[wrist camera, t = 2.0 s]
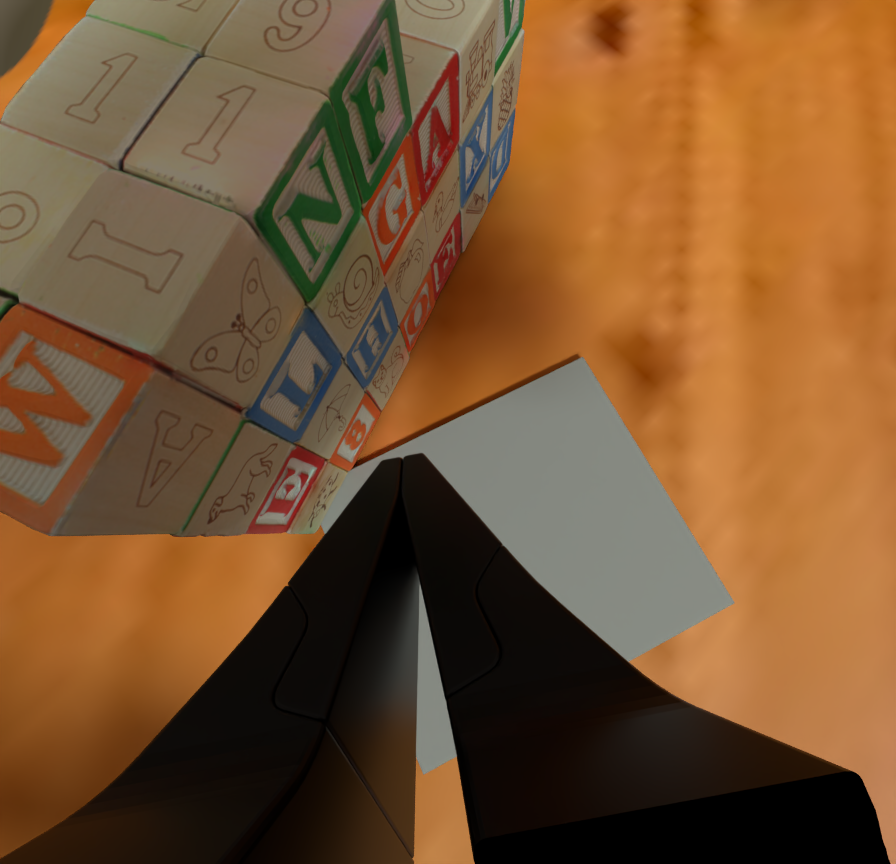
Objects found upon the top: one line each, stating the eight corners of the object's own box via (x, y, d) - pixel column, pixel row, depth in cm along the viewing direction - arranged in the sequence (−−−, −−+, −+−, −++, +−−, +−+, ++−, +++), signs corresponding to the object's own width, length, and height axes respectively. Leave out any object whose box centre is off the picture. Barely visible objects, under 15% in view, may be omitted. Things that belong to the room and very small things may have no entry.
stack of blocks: (407, 130, 23) (345, -300, 11) (511, 165, 22) (564, -260, 10) (197, 478, 19) (-264, 380, 7) (317, 539, 18) (25, 545, 6)
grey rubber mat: (729, 601, 17) (734, 602, 17) (424, 770, 16) (423, 774, 16) (581, 359, 20) (582, 356, 20) (309, 491, 19) (307, 491, 19)
